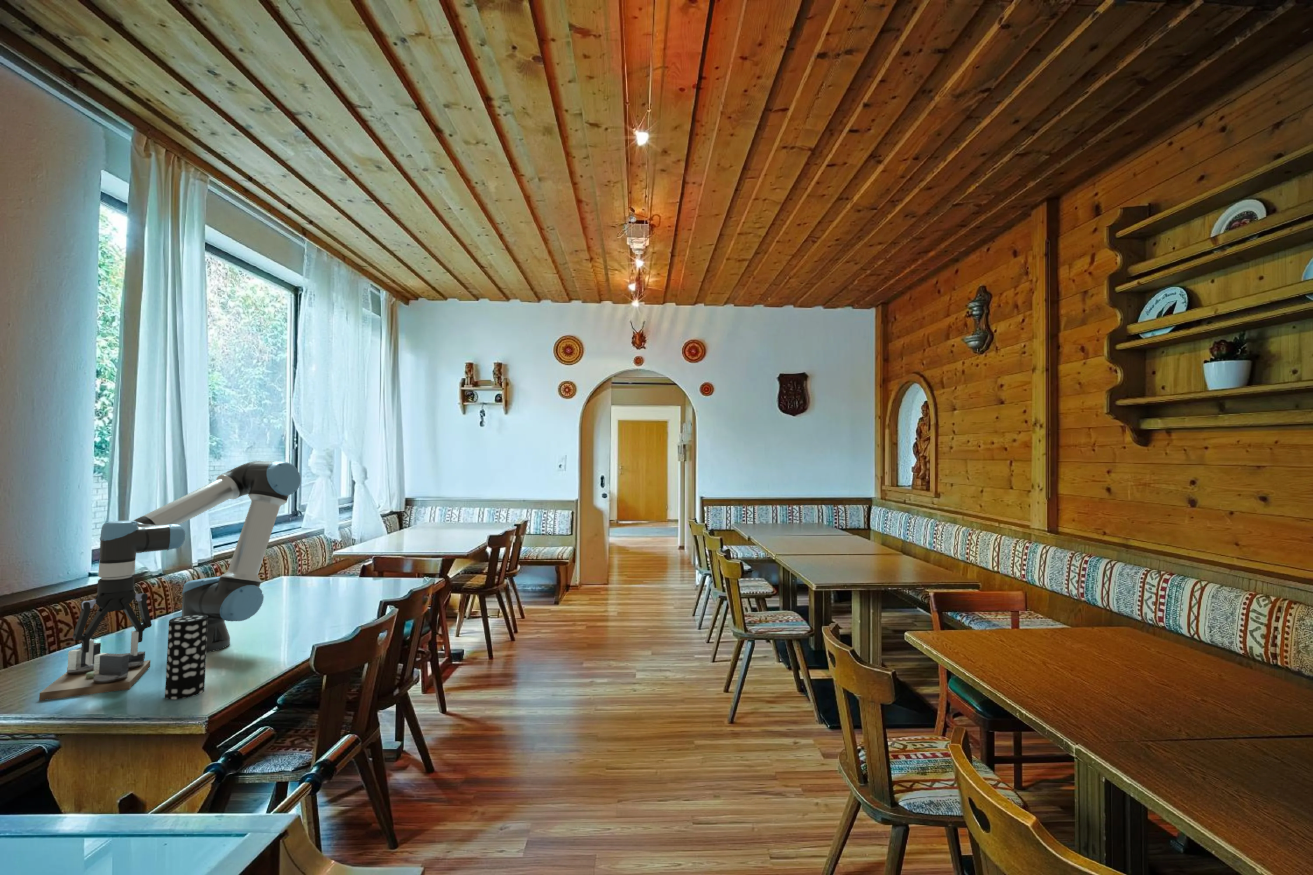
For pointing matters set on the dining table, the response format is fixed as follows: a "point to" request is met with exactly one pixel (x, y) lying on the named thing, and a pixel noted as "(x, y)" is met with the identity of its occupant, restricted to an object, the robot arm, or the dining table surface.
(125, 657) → the knob
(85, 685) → the base
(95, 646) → the knob
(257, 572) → the robot arm
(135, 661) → the knob
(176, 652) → the white-spotted black cylinder
